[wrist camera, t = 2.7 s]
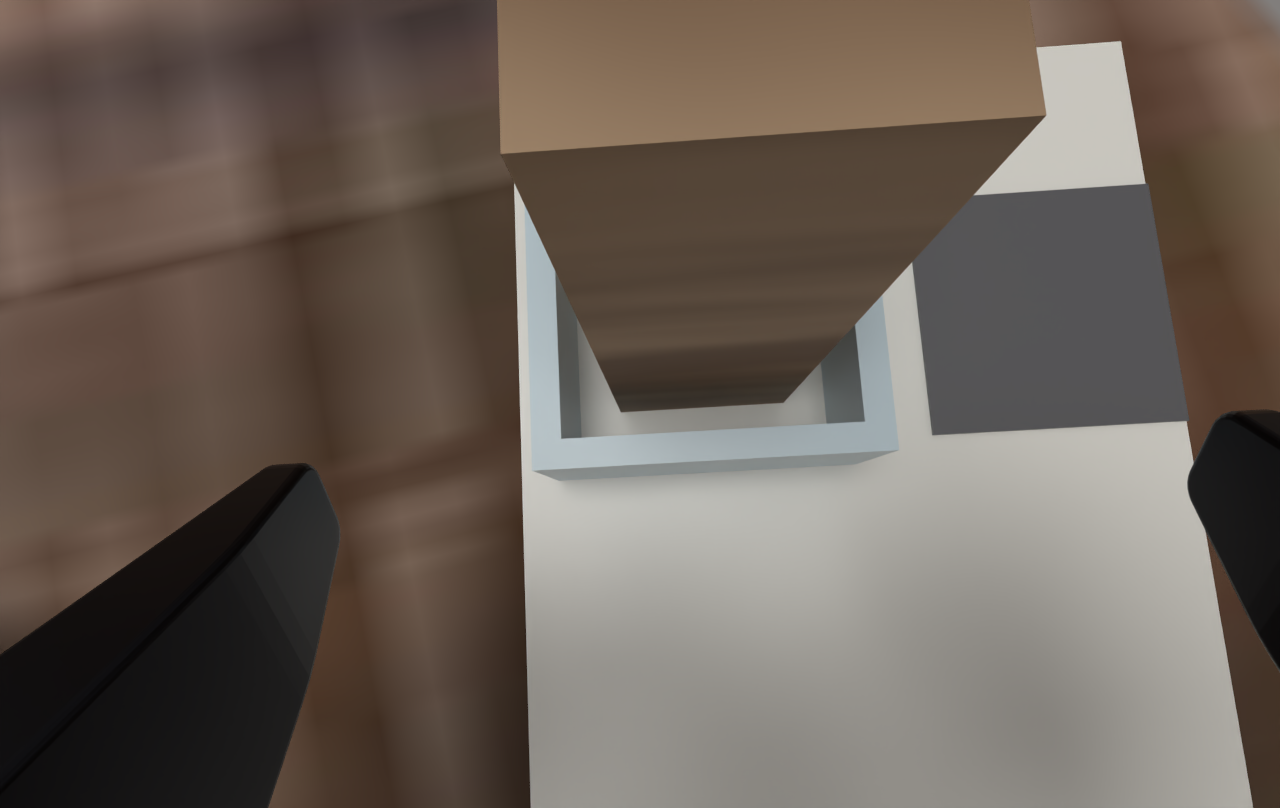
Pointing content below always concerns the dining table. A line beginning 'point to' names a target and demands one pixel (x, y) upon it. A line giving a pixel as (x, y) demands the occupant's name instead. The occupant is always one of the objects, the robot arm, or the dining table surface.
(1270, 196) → the dining table surface
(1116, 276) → the board
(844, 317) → the walnut block
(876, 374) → the sleeve
